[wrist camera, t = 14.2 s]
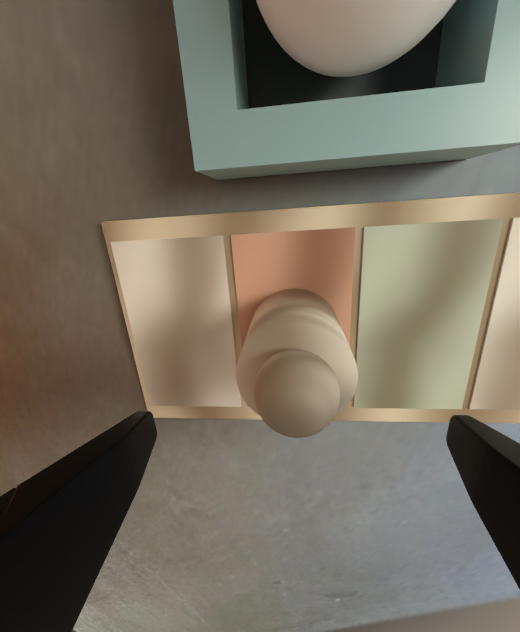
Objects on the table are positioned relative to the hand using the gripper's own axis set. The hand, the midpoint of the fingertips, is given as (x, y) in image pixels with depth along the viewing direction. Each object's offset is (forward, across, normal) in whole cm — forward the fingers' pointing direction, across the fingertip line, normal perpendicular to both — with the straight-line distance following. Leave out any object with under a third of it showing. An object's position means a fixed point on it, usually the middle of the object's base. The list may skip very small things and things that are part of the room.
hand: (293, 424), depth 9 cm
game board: (+8, -3, 0) cm, 8 cm away
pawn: (+7, 0, 0) cm, 7 cm away
